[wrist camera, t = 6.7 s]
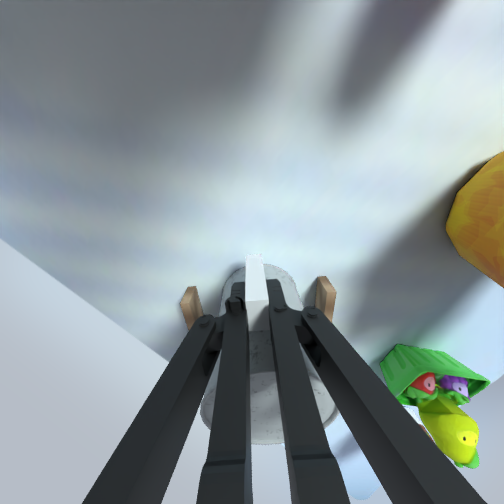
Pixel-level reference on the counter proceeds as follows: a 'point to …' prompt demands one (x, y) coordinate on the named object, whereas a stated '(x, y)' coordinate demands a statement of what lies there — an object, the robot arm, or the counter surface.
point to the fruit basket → (437, 397)
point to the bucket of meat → (481, 220)
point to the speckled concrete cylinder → (267, 371)
